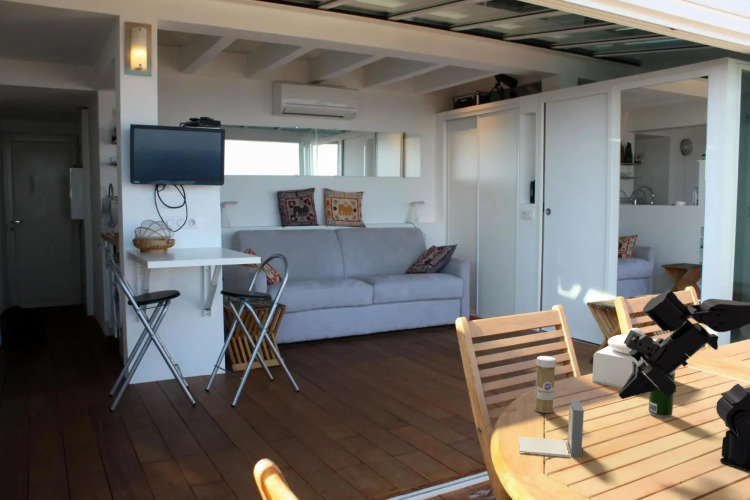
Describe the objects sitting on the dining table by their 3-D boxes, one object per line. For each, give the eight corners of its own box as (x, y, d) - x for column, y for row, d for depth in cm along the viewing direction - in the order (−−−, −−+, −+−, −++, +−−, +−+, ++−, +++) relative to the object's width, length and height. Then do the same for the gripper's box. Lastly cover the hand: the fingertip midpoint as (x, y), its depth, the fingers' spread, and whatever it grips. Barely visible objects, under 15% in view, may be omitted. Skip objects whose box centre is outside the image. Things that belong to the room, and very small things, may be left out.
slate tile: (576, 444, 147) (579, 399, 146) (581, 457, 140) (583, 410, 139) (567, 443, 147) (569, 399, 146) (570, 456, 141) (573, 410, 139)
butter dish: (614, 369, 206) (617, 317, 204) (676, 381, 195) (680, 327, 193) (591, 382, 193) (594, 327, 191) (657, 396, 181) (661, 338, 179)
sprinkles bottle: (540, 414, 165) (543, 360, 164) (530, 408, 169) (533, 355, 168) (557, 412, 166) (559, 359, 165) (547, 406, 171) (549, 354, 169)
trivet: (564, 442, 148) (564, 440, 148) (568, 457, 140) (569, 455, 140) (518, 438, 150) (518, 436, 150) (519, 453, 142) (519, 450, 142)
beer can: (663, 420, 163) (666, 371, 162) (643, 413, 167) (646, 365, 166) (676, 416, 166) (680, 368, 164) (657, 409, 170) (660, 362, 169)
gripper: (641, 310, 148) (586, 357, 151) (661, 328, 129) (598, 381, 132) (677, 347, 147) (622, 394, 150) (703, 370, 129) (639, 423, 132)
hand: (620, 396), depth 141 cm, fingers closed
